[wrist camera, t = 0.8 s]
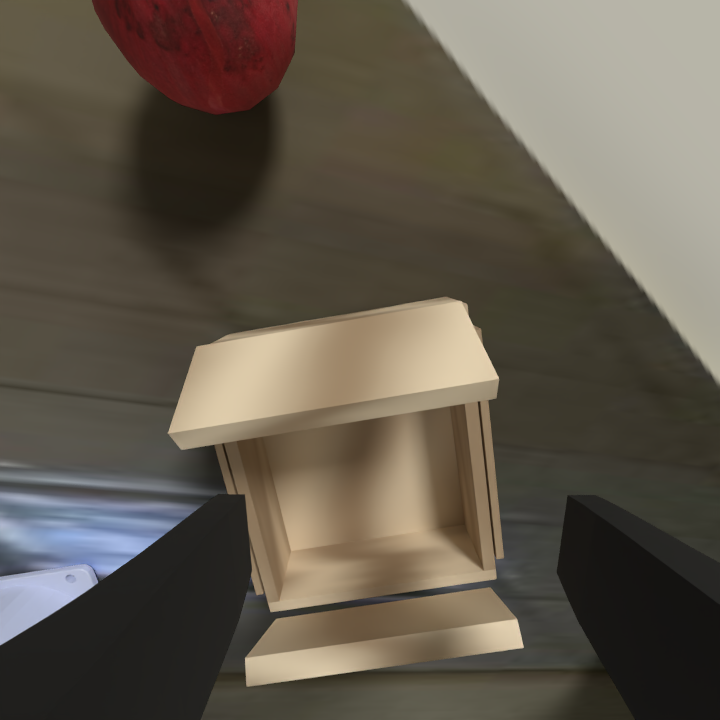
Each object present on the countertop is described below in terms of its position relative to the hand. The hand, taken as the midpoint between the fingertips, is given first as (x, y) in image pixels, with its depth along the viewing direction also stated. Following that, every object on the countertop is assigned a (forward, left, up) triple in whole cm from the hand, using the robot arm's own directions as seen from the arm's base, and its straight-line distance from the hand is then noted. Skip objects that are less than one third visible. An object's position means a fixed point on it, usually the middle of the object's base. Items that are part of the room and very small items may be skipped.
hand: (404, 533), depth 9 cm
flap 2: (-1, -7, -4) cm, 8 cm away
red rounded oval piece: (-3, +14, -10) cm, 18 cm away
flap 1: (-1, +3, -4) cm, 5 cm away
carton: (-1, -2, -10) cm, 10 cm away
